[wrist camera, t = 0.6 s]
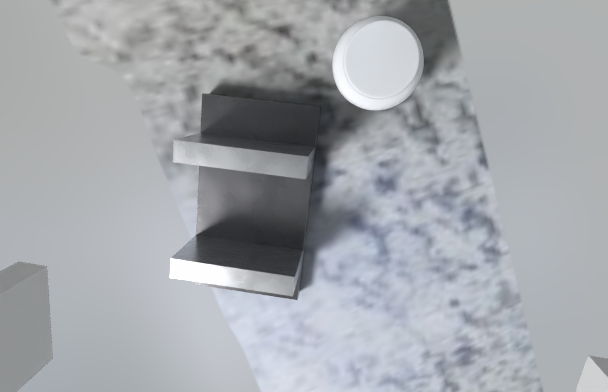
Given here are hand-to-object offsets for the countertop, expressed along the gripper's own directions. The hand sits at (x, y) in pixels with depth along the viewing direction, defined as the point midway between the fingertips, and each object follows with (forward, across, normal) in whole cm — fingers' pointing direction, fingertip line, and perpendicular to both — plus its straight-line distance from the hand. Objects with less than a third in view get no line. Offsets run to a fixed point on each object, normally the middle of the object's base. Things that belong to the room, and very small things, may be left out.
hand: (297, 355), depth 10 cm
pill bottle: (+24, +2, +8) cm, 25 cm away
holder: (+24, -6, -3) cm, 25 cm away
